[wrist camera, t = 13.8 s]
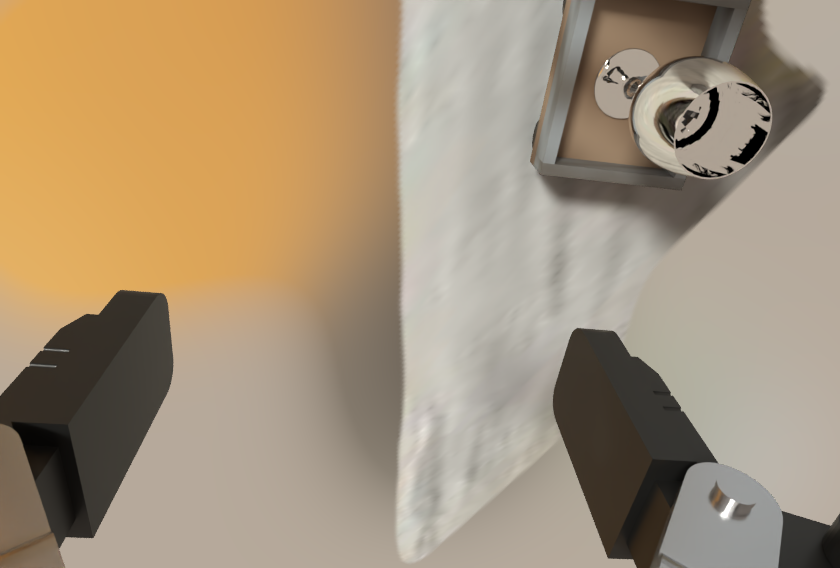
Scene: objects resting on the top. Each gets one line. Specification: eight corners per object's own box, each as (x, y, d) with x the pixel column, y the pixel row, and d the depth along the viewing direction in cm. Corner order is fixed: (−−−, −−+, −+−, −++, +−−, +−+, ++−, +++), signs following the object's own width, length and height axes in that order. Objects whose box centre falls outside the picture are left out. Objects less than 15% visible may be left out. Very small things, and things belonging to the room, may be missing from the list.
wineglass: (565, 96, 37) (636, 148, 27) (627, 16, 35) (731, 40, 25) (626, 145, 39) (715, 211, 29) (689, 72, 37) (809, 116, 27)
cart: (562, -31, 37) (588, -30, 32) (707, -9, 38) (753, -5, 33) (522, 151, 42) (540, 174, 38) (649, 166, 44) (681, 190, 39)
